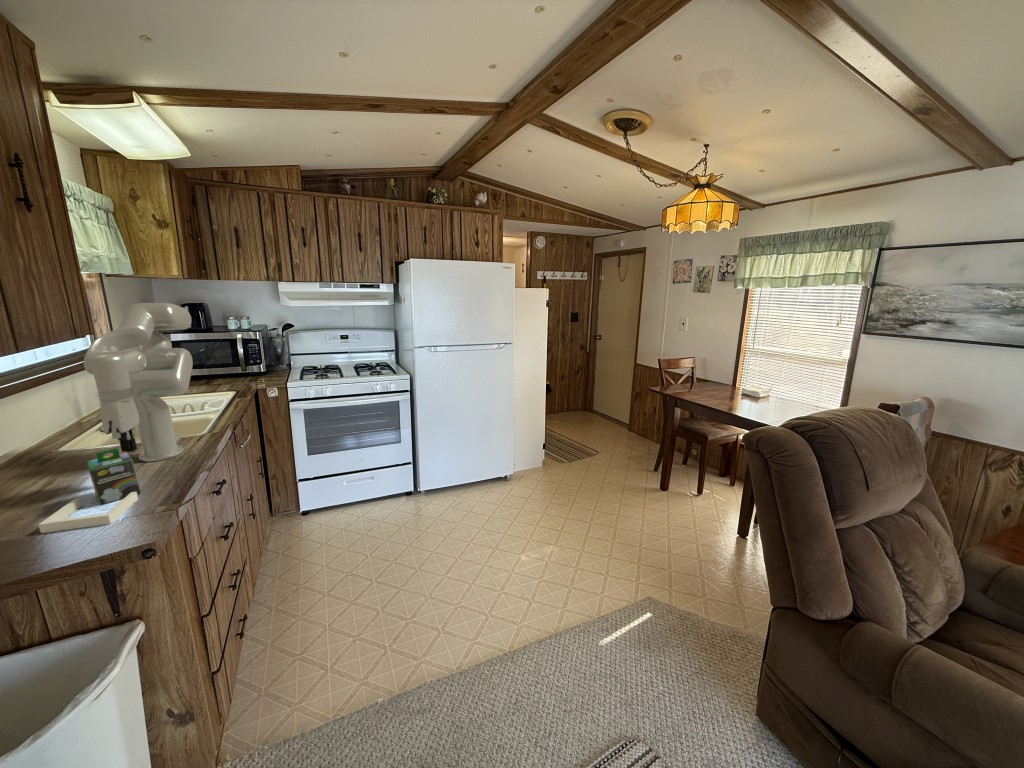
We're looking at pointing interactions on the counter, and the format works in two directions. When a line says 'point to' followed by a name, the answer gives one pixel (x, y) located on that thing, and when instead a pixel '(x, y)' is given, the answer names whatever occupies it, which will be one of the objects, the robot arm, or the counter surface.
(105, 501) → the chalk box
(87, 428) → the counter surface
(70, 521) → the cream u-shaped bracket
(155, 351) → the robot arm
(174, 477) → the counter surface
